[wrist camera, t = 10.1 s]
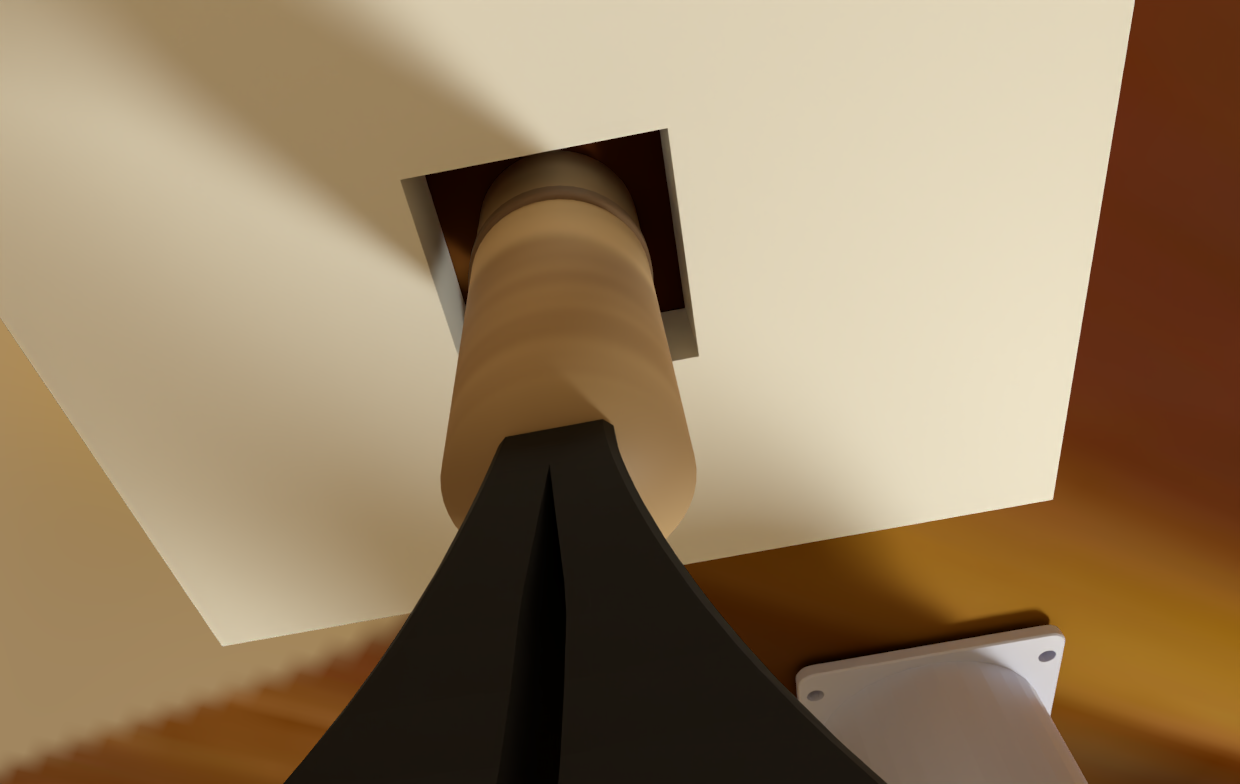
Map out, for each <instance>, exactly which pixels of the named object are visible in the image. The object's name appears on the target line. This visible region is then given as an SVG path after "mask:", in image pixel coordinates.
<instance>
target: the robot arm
mask: <svg viewBox="0 0 1240 784" xmlns="http://www.w3.org/2000/svg"><path fill="white" fill-rule="evenodd" d="M1064 645H1065V637H1064V635H1063V634H1062V632H1061V631H1060V629H1059V628H1058V627H1057V626H1053V625H1042V626H1036V627H1030V628H1025V629H1019V630H1013V631H1007V632H1001V633H995V634H990V635H984V636H978V637H972V638H966V639H961V640H955V641H949V642H943V643H937V644H932V645H926V646H920V647H914V648H908V649H902V650H897V651H891V652H885V653H879V654H873V655H868V656H862V657H856V658H850V659H844V660H839V661H833V662H827V663H821V664H815V665H810V666H807V667H804V668H803V669H801V670H800V671H799V672H798V673H797V675H796V690H797V698H796V697H795V696H794V695H793V694H792V693H791V692H790V691H789V690H788V689H787V688H786V687H785V686H784V685H783V684H782V683H781V682H780V681H779V680H778V679H777V678H776V677H775V676H774V675H773V674H772V673H771V672H770V671H769V670H768V669H767V667H766V666H765V665H764V664H763V663H762V662H761V661H760V660H759V659H758V657H757V656H756V655H755V654H754V653H753V652H752V651H751V650H750V649H749V647H748V646H747V645H746V644H745V643H744V642H743V641H742V640H741V638H740V637H739V636H738V635H737V634H736V632H735V631H734V630H733V629H732V628H731V626H730V625H729V624H728V623H727V622H726V620H725V619H724V618H723V617H722V616H721V614H720V613H719V612H718V611H717V609H716V608H715V607H714V606H713V604H712V603H711V602H710V601H709V599H708V598H707V597H706V595H705V594H704V593H703V591H702V590H701V589H700V587H699V586H698V585H697V584H696V582H695V581H694V579H693V578H692V577H691V575H690V574H689V572H688V571H687V570H686V568H685V567H684V565H683V564H682V562H681V561H680V560H679V558H678V557H677V555H676V554H675V552H674V551H673V549H672V548H671V546H670V545H669V543H668V542H667V540H666V539H665V537H664V536H663V534H662V532H661V531H660V529H659V527H658V526H657V524H656V522H655V521H654V519H653V517H652V516H651V514H650V512H649V511H648V509H647V507H646V506H645V504H644V502H643V501H642V499H641V497H640V495H639V493H638V491H637V489H636V487H635V485H634V483H633V481H632V479H631V477H630V475H629V473H628V471H627V469H626V466H625V464H624V462H623V459H622V457H621V454H620V451H619V448H618V443H617V439H616V434H615V430H614V425H612V424H610V423H609V422H607V421H605V420H604V419H601V420H595V421H590V422H584V423H579V424H573V425H568V426H562V427H557V428H552V429H546V430H541V431H535V432H530V433H524V434H519V435H513V436H508V437H505V438H504V439H503V441H502V442H501V443H500V444H499V446H498V448H497V450H496V453H495V455H494V457H493V460H492V462H491V464H490V466H489V469H488V471H487V473H486V475H485V478H484V480H483V482H482V484H481V486H480V488H479V490H478V493H477V495H476V497H475V499H474V501H473V503H472V505H471V507H470V509H469V511H468V513H467V515H466V517H465V519H464V521H463V523H462V525H461V526H460V528H459V530H458V532H457V534H456V536H455V538H454V540H453V541H452V543H451V545H450V547H449V549H448V551H447V553H446V554H445V556H444V558H443V560H442V562H441V564H440V566H439V567H438V569H437V571H436V573H435V574H434V576H433V578H432V579H431V581H430V583H429V584H428V586H427V587H426V589H425V591H424V592H423V594H422V596H421V597H420V599H419V601H418V602H417V604H416V605H415V607H414V609H413V610H412V612H411V614H410V615H409V617H408V619H407V620H406V622H405V623H404V625H403V627H402V628H401V630H400V631H399V633H398V634H397V636H396V637H395V639H394V640H393V642H392V643H391V645H390V646H389V648H388V649H387V651H386V652H385V654H384V655H383V657H382V658H381V660H380V661H379V662H378V664H377V665H376V667H375V668H374V670H373V671H372V672H371V674H370V675H369V676H368V678H367V679H366V681H365V682H364V683H363V685H362V686H361V687H360V689H359V690H358V691H357V693H356V694H355V696H354V697H353V698H352V700H351V701H350V702H349V704H348V705H347V706H346V708H345V709H344V710H343V711H342V713H341V714H340V715H339V716H338V718H337V719H336V720H335V721H334V723H333V724H332V725H331V726H330V728H329V729H328V730H327V731H326V733H325V734H324V735H323V736H322V738H321V739H320V740H319V741H318V743H317V744H316V745H315V746H314V748H313V749H312V750H311V751H310V752H309V754H308V755H307V756H306V757H305V759H304V760H303V761H302V762H301V763H300V765H299V766H298V767H297V768H296V769H295V771H294V772H293V773H292V774H291V775H290V776H289V778H288V779H287V780H286V781H285V782H284V783H283V784H1088V783H1087V781H1086V779H1085V777H1084V776H1083V774H1082V772H1081V770H1080V769H1079V767H1078V765H1077V763H1076V761H1075V760H1074V758H1073V756H1072V754H1071V753H1070V751H1069V749H1068V747H1067V745H1066V744H1065V742H1064V740H1063V738H1062V737H1061V735H1060V733H1059V731H1058V729H1057V728H1056V726H1055V724H1054V722H1053V721H1052V719H1051V717H1050V714H1051V709H1052V704H1053V699H1054V695H1055V690H1056V685H1057V680H1058V675H1059V670H1060V665H1061V660H1062V655H1063V650H1064Z"/></svg>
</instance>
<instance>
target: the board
mask: <svg viewBox="0 0 1240 784" xmlns="http://www.w3.org/2000/svg"><path fill="white" fill-rule="evenodd" d="M1134 2H1135V0H0V318H1V320H2V321H3V323H4V324H5V326H6V327H7V329H8V330H9V332H10V333H11V335H12V336H13V338H14V339H15V341H16V342H17V344H18V345H19V347H20V348H21V350H22V351H23V353H24V354H25V355H26V357H27V358H28V360H29V361H30V363H31V364H32V366H33V367H34V369H35V370H36V372H37V373H38V374H39V376H40V377H41V379H42V381H43V382H44V384H45V385H46V386H47V388H48V389H49V391H50V392H51V394H52V395H53V397H54V398H55V400H56V401H57V403H58V404H59V406H60V407H61V409H62V410H63V412H64V413H65V415H66V416H67V418H68V419H69V421H70V422H71V423H72V425H73V426H74V428H75V429H76V431H77V432H78V433H79V435H80V437H81V438H82V440H83V441H84V443H85V444H86V446H87V447H88V449H89V450H90V452H91V453H92V454H93V456H94V458H95V459H96V460H97V462H98V463H99V465H100V466H101V468H102V469H103V471H104V472H105V474H106V475H107V477H108V478H109V480H110V481H111V483H112V484H113V486H114V487H115V489H116V490H117V492H118V493H119V494H120V496H121V497H122V499H123V500H124V502H125V503H126V505H127V506H128V508H129V509H130V511H131V512H132V514H133V515H134V517H135V518H136V520H137V521H138V523H139V524H140V526H141V527H142V528H143V530H144V531H145V533H146V534H147V536H148V537H149V539H150V540H151V542H152V543H153V545H154V546H155V548H156V549H157V551H158V552H159V554H160V555H161V557H162V558H163V560H164V561H165V563H166V564H167V566H168V567H169V568H170V570H171V571H172V573H173V574H174V576H175V577H176V579H177V580H178V582H179V583H180V585H181V586H182V588H183V589H184V591H185V592H186V594H187V595H188V597H189V598H190V600H191V601H192V602H193V604H194V605H195V607H196V608H197V610H198V611H199V613H200V614H201V616H202V617H203V619H204V620H205V622H206V623H207V625H208V626H209V628H210V629H211V631H212V632H213V634H214V635H215V637H216V638H217V639H218V641H219V642H220V644H221V645H222V646H227V645H232V644H238V643H244V642H250V641H255V640H261V639H267V638H272V637H278V636H284V635H289V634H295V633H300V632H306V631H312V630H318V629H323V628H329V627H335V626H340V625H346V624H352V623H357V622H363V621H369V620H374V619H380V618H386V617H391V616H397V615H403V614H408V613H411V612H412V610H413V609H414V607H415V605H416V604H417V602H418V601H419V599H420V597H421V596H422V594H423V592H424V591H425V589H426V587H427V586H428V584H429V583H430V581H431V579H432V578H433V576H434V574H435V573H436V571H437V569H438V567H439V566H440V564H441V562H442V560H443V558H444V556H445V554H446V553H447V551H448V549H449V547H450V545H451V543H452V541H453V540H454V538H455V536H456V534H457V532H458V529H457V527H456V526H455V525H454V523H453V521H452V520H451V518H450V516H449V515H448V512H447V510H446V507H445V505H444V502H443V497H442V493H441V482H440V475H441V468H442V460H443V454H444V447H445V441H446V434H447V428H448V421H449V415H450V408H451V402H452V395H453V388H454V382H455V375H456V369H457V362H458V356H459V349H460V343H461V336H462V330H463V323H464V316H465V310H466V306H465V303H464V299H463V296H462V293H461V290H460V286H459V283H458V280H457V277H456V274H455V270H454V267H453V264H452V261H451V258H450V254H449V251H448V248H447V245H446V242H445V238H444V235H443V232H442V229H441V226H440V222H439V219H438V216H437V213H436V209H435V206H434V203H433V200H432V197H431V193H430V190H429V187H428V184H427V181H426V177H425V175H428V174H433V173H438V172H443V171H448V170H454V169H459V168H464V167H469V166H474V165H479V164H485V163H490V162H495V161H500V160H505V159H510V158H516V157H521V156H526V155H531V154H536V153H541V152H547V151H552V150H557V149H562V148H567V147H572V146H578V145H583V144H588V143H593V142H598V141H603V140H609V139H614V138H619V137H624V136H629V135H634V134H640V133H645V132H650V131H655V130H660V137H661V144H662V151H663V158H664V165H665V172H666V179H667V186H668V193H669V200H670V207H671V213H672V220H673V227H674V234H675V241H676V248H677V255H678V262H679V269H680V276H681V283H682V290H683V297H684V304H685V308H682V309H677V310H671V311H666V312H661V317H662V321H663V325H664V330H665V334H666V338H667V342H668V346H669V351H670V355H671V359H672V363H673V367H674V372H675V376H676V380H677V384H678V388H679V393H680V397H681V401H682V405H683V409H684V414H685V418H686V422H687V426H688V430H689V435H690V439H691V443H692V447H693V451H694V456H695V462H696V468H697V476H696V486H695V492H694V496H693V499H692V501H691V504H690V507H689V509H688V510H687V512H686V514H685V516H684V518H683V519H682V521H681V522H680V523H679V525H678V526H677V528H676V529H675V530H674V531H673V532H672V533H671V534H670V535H669V536H668V537H667V538H666V540H667V542H668V543H669V545H670V546H671V548H672V549H673V551H674V552H675V554H676V555H677V557H678V558H679V560H680V561H681V562H682V564H683V565H685V564H691V563H697V562H702V561H708V560H714V559H719V558H725V557H731V556H736V555H742V554H748V553H753V552H759V551H765V550H770V549H776V548H782V547H787V546H793V545H799V544H804V543H810V542H816V541H821V540H827V539H832V538H838V537H844V536H849V535H855V534H861V533H866V532H872V531H878V530H883V529H889V528H895V527H900V526H906V525H912V524H917V523H923V522H929V521H934V520H940V519H946V518H951V517H957V516H963V515H968V514H974V513H980V512H985V511H991V510H997V509H1002V508H1008V507H1014V506H1019V505H1025V504H1030V503H1036V502H1042V501H1047V500H1053V495H1054V489H1055V483H1056V476H1057V470H1058V464H1059V458H1060V452H1061V446H1062V440H1063V434H1064V428H1065V422H1066V416H1067V410H1068V404H1069V397H1070V391H1071V385H1072V379H1073V373H1074V367H1075V361H1076V355H1077V349H1078V343H1079V337H1080V331H1081V324H1082V318H1083V312H1084V306H1085V300H1086V294H1087V288H1088V282H1089V276H1090V270H1091V264H1092V258H1093V252H1094V245H1095V239H1096V233H1097V227H1098V221H1099V215H1100V209H1101V203H1102V197H1103V191H1104V185H1105V179H1106V173H1107V166H1108V160H1109V154H1110V148H1111V142H1112V136H1113V130H1114V124H1115V118H1116V112H1117V106H1118V100H1119V94H1120V87H1121V81H1122V75H1123V69H1124V63H1125V57H1126V51H1127V45H1128V39H1129V33H1130V27H1131V21H1132V15H1133V8H1134Z"/></svg>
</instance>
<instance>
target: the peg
mask: <svg viewBox="0 0 1240 784" xmlns="http://www.w3.org/2000/svg"><path fill="white" fill-rule="evenodd" d="M468 288H469V290H468V297H467V303H466V310H465V316H464V323H463V330H462V336H461V343H460V349H459V356H458V362H457V369H456V375H455V382H454V388H453V395H452V402H451V408H450V415H449V421H448V428H447V434H446V441H445V447H444V454H443V460H442V468H441V475H440V482H441V493H442V497H443V502H444V505H445V507H446V510H447V512H448V515H449V516H450V518H451V520H452V521H453V523H454V525H455V526H456V527H457V529H458V530H459V528H460V526H461V525H462V523H463V521H464V519H465V517H466V515H467V513H468V511H469V509H470V507H471V505H472V503H473V501H474V499H475V497H476V495H477V493H478V490H479V488H480V486H481V484H482V482H483V480H484V478H485V475H486V473H487V471H488V469H489V466H490V464H491V462H492V460H493V457H494V455H495V453H496V450H497V448H498V446H499V444H500V443H501V442H502V441H503V439H504V438H505V437H508V436H513V435H519V434H524V433H530V432H535V431H541V430H546V429H552V428H557V427H562V426H568V425H573V424H579V423H584V422H590V421H595V420H601V419H604V420H605V421H607V422H609V423H610V424H612V425H614V430H615V434H616V439H617V443H618V448H619V451H620V454H621V457H622V459H623V462H624V464H625V466H626V469H627V471H628V473H629V475H630V477H631V479H632V481H633V483H634V485H635V487H636V489H637V491H638V493H639V495H640V497H641V499H642V501H643V502H644V504H645V506H646V507H647V509H648V511H649V512H650V514H651V516H652V517H653V519H654V521H655V522H656V524H657V526H658V527H659V529H660V531H661V532H662V534H663V536H664V537H665V539H666V538H667V537H668V536H669V535H670V534H671V533H672V532H673V531H674V530H675V529H676V528H677V526H678V525H679V523H680V522H681V521H682V519H683V518H684V516H685V514H686V512H687V510H688V509H689V507H690V504H691V501H692V499H693V496H694V492H695V486H696V476H697V468H696V462H695V456H694V451H693V447H692V443H691V439H690V435H689V430H688V426H687V422H686V418H685V414H684V409H683V405H682V401H681V397H680V393H679V388H678V384H677V380H676V376H675V372H674V367H673V363H672V359H671V355H670V351H669V346H668V342H667V338H666V334H665V330H664V325H663V321H662V317H661V313H660V309H659V304H658V300H657V296H656V292H655V288H654V283H653V269H652V263H651V259H650V255H649V250H648V247H647V244H646V241H645V238H644V236H643V234H642V232H641V229H640V225H639V220H638V216H637V212H636V208H635V205H634V202H633V199H632V197H631V195H630V192H629V190H628V189H627V187H626V186H625V184H624V183H623V181H622V180H621V179H620V178H619V177H618V176H617V175H616V173H614V172H613V171H612V170H611V169H610V168H609V167H607V166H606V165H604V164H603V163H601V162H600V161H598V160H596V159H594V158H592V157H589V156H586V155H583V154H580V153H576V152H571V151H559V150H556V151H547V152H541V153H536V154H532V155H529V156H527V157H524V158H522V159H520V160H518V161H516V162H515V163H513V164H512V165H510V166H509V167H507V168H506V169H505V170H504V171H503V172H502V173H501V174H500V175H499V176H498V177H497V178H496V179H495V181H494V182H493V183H492V185H491V186H490V188H489V190H488V191H487V193H486V196H485V198H484V200H483V204H482V207H481V212H480V218H479V225H478V231H477V237H476V239H475V241H474V245H473V248H472V252H471V258H470V264H469V272H468Z"/></svg>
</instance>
